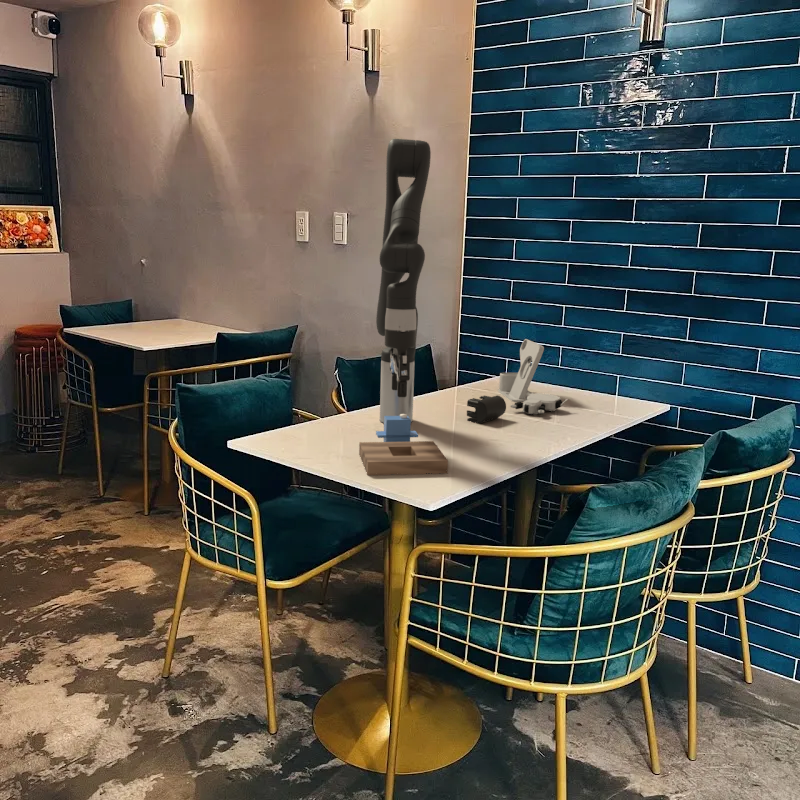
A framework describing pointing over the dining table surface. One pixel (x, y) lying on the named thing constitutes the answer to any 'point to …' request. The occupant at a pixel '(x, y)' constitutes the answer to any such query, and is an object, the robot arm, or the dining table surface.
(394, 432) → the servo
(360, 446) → the board
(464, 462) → the dining table surface
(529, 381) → the phone holder
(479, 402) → the end cap
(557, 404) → the robot toy
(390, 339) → the robot arm
